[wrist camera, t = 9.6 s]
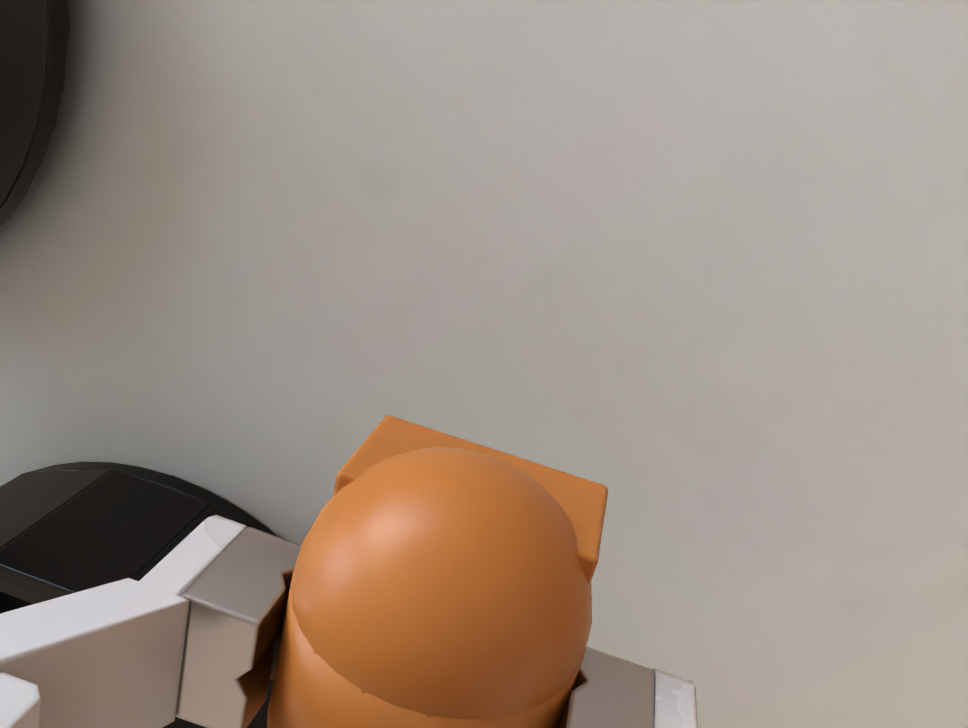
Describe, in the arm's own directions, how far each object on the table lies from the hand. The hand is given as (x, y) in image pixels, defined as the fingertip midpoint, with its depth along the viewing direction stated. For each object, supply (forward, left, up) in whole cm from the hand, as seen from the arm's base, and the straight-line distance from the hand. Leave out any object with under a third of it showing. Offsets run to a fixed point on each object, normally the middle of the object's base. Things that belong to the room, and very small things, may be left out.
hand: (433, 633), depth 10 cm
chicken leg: (+1, 0, -1) cm, 2 cm away
